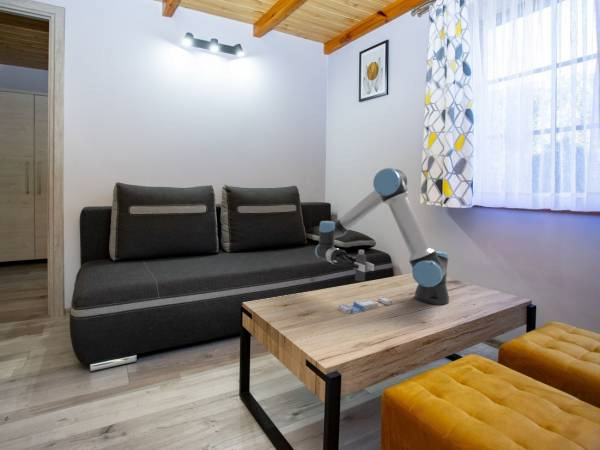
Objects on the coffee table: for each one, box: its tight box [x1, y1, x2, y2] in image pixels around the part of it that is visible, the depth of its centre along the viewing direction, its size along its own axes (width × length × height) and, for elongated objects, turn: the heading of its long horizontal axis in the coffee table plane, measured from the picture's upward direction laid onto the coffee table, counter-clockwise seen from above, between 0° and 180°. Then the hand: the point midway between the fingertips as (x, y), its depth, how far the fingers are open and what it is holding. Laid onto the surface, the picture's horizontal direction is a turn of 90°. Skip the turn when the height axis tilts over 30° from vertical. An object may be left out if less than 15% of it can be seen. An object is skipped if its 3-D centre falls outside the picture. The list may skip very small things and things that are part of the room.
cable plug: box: [354, 249, 367, 282], centre depth 149 cm, size 4×4×13 cm
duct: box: [338, 295, 393, 314], centre depth 152 cm, size 25×7×2 cm, turn 119°
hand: (368, 268), depth 144 cm, fingers closed on cable plug, 4 cm apart
